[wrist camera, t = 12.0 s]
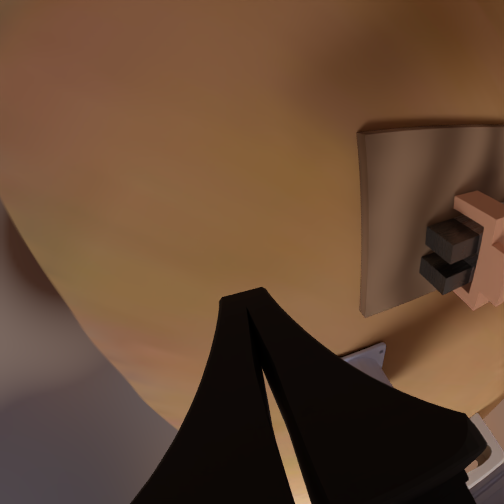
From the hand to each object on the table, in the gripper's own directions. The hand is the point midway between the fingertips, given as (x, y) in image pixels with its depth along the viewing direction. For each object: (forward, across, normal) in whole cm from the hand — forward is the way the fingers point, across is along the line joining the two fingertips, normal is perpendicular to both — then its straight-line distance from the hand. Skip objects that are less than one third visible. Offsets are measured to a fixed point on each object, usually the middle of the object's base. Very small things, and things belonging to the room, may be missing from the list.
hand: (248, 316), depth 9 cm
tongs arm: (+8, -21, +5) cm, 23 cm away
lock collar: (+8, -18, +6) cm, 21 cm away
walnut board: (+9, -22, +4) cm, 24 cm away
